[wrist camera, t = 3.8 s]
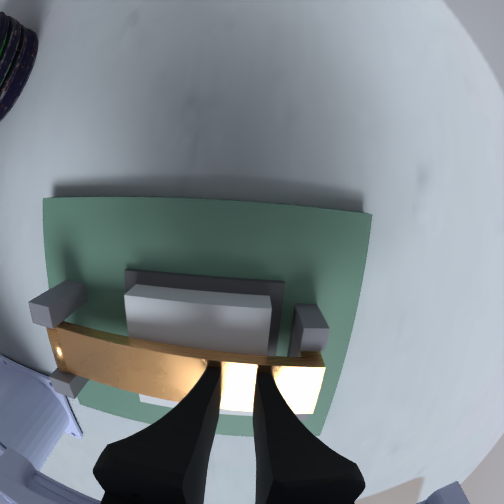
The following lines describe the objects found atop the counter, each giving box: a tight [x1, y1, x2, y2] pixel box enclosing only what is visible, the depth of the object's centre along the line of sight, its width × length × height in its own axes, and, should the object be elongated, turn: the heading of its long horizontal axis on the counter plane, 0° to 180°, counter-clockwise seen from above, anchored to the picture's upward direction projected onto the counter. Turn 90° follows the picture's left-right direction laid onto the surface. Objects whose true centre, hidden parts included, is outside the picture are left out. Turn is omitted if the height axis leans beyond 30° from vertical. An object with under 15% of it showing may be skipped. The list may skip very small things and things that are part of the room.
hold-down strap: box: [46, 321, 326, 414], centre depth 12 cm, size 15×3×2 cm, turn 86°
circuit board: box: [28, 196, 372, 437], centre depth 14 cm, size 19×16×5 cm
